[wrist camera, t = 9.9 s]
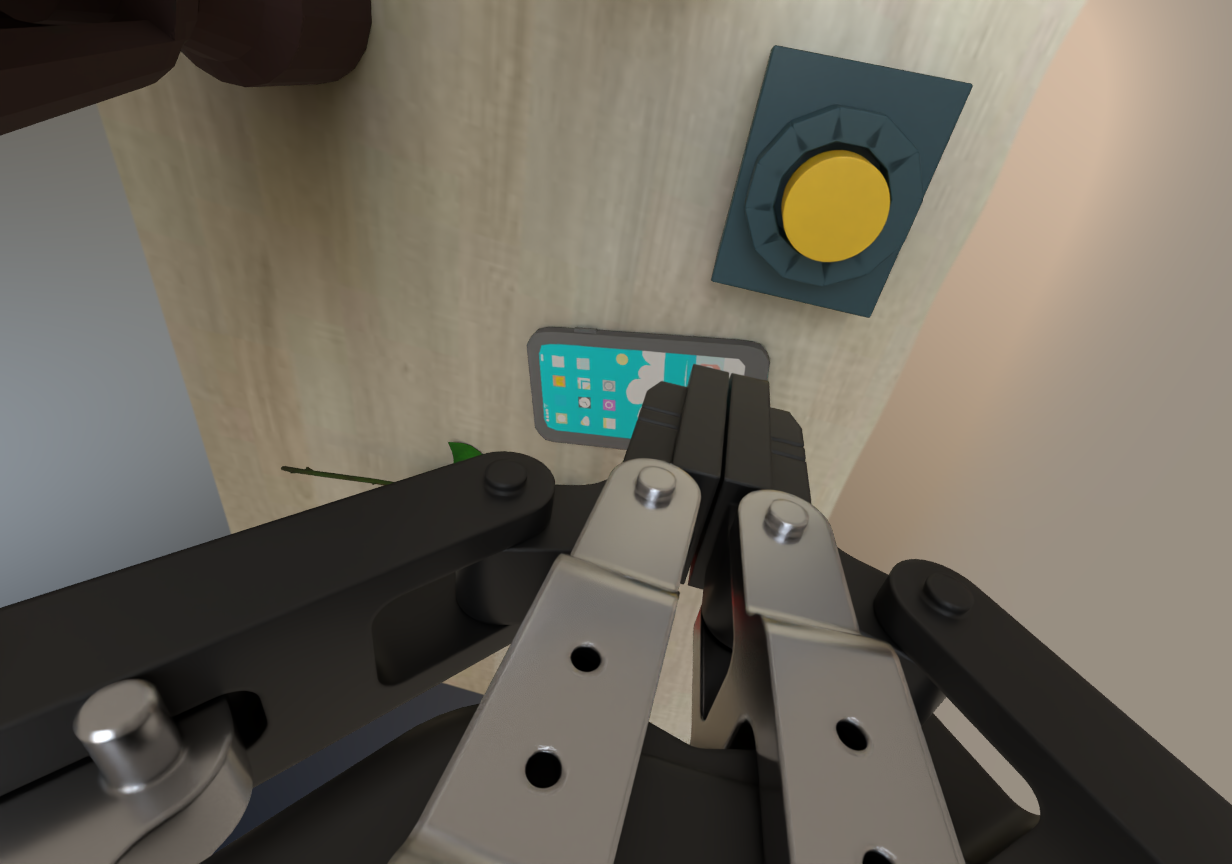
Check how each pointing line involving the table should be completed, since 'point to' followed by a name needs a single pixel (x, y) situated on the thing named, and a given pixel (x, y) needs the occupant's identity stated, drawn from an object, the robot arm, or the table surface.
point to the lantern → (166, 47)
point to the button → (834, 206)
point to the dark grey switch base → (824, 121)
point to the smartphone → (618, 377)
